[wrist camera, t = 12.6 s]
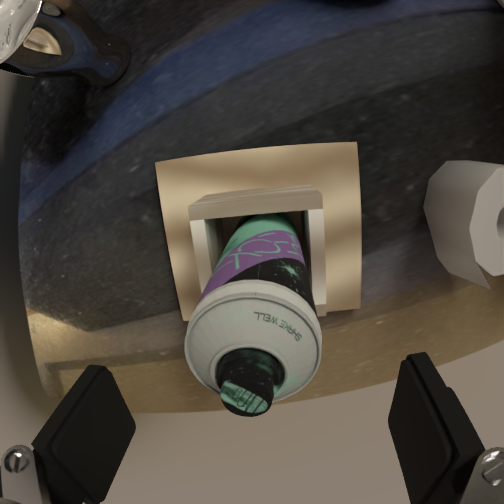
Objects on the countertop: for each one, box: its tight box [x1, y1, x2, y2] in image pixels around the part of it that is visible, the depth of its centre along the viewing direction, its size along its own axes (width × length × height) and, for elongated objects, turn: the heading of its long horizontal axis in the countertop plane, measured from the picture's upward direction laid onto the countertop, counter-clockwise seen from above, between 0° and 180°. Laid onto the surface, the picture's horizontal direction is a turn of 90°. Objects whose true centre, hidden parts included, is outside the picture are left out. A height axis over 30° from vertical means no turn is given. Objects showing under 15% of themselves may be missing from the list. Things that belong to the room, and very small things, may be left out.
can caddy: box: [155, 142, 362, 321], centre depth 26 cm, size 16×18×8 cm
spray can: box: [184, 212, 322, 417], centre depth 19 cm, size 6×6×20 cm
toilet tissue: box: [423, 160, 504, 290], centre depth 23 cm, size 9×13×9 cm
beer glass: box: [0, 0, 131, 88], centre depth 18 cm, size 7×7×15 cm
